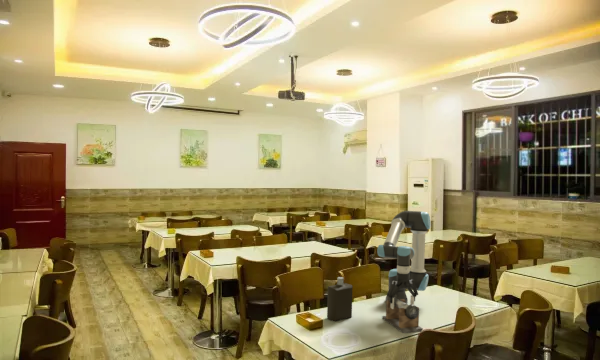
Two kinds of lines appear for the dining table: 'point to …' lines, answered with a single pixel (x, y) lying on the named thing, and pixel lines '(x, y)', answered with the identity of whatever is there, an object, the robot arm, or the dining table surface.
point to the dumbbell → (406, 308)
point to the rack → (401, 319)
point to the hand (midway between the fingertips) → (402, 307)
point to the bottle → (339, 301)
